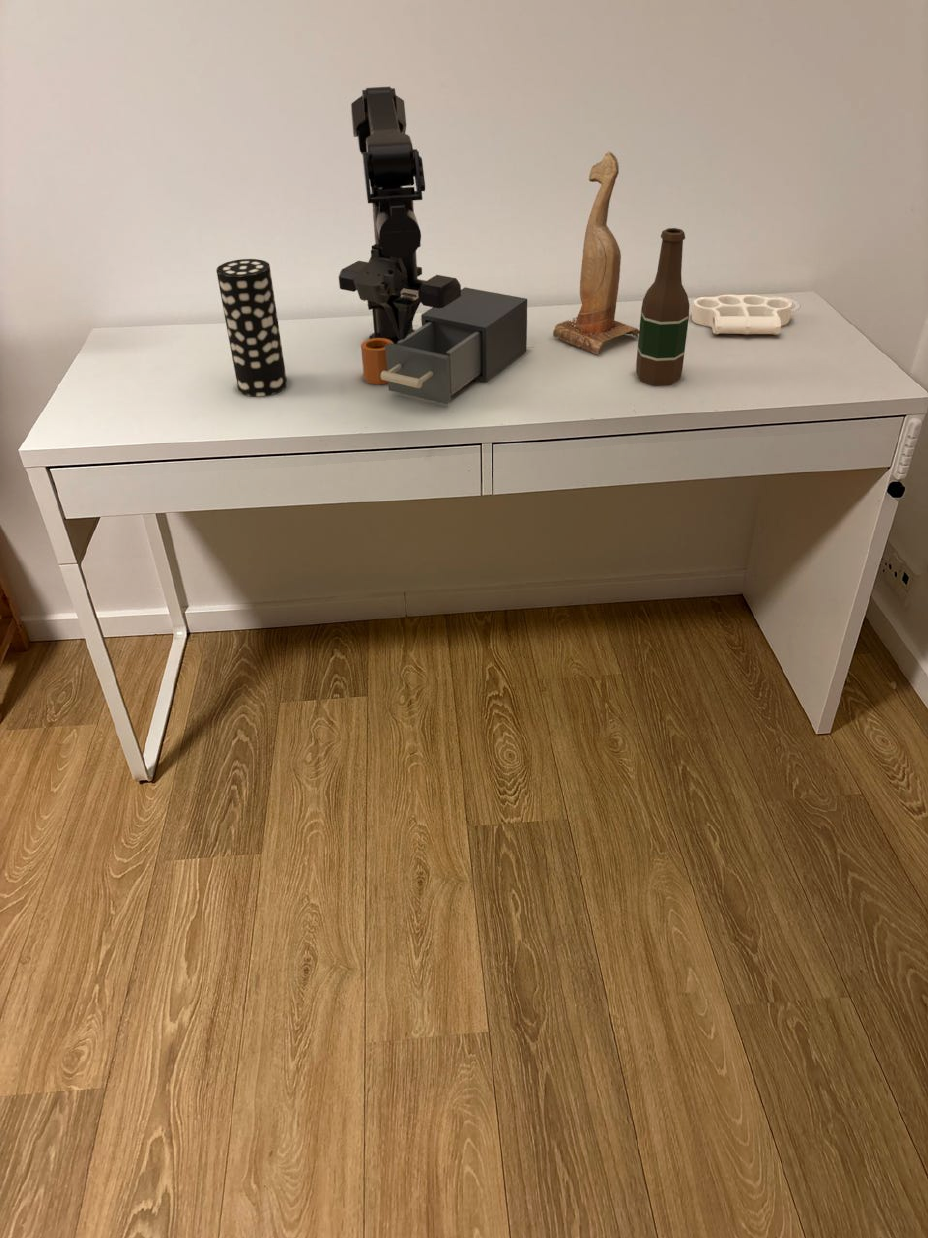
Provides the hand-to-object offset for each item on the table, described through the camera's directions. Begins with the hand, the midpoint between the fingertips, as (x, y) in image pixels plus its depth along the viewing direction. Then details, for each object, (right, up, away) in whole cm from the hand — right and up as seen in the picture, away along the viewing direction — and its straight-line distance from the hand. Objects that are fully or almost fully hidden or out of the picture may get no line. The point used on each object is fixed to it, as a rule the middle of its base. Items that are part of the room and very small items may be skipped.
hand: (402, 338), depth 151 cm
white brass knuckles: (+61, +11, +30) cm, 70 cm away
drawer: (+4, -5, +10) cm, 12 cm away
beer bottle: (+42, -3, +13) cm, 45 cm away
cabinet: (+12, +2, +20) cm, 24 cm away
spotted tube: (-25, -4, +14) cm, 29 cm away
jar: (-5, -2, +16) cm, 16 cm away
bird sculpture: (+34, +7, +26) cm, 43 cm away
